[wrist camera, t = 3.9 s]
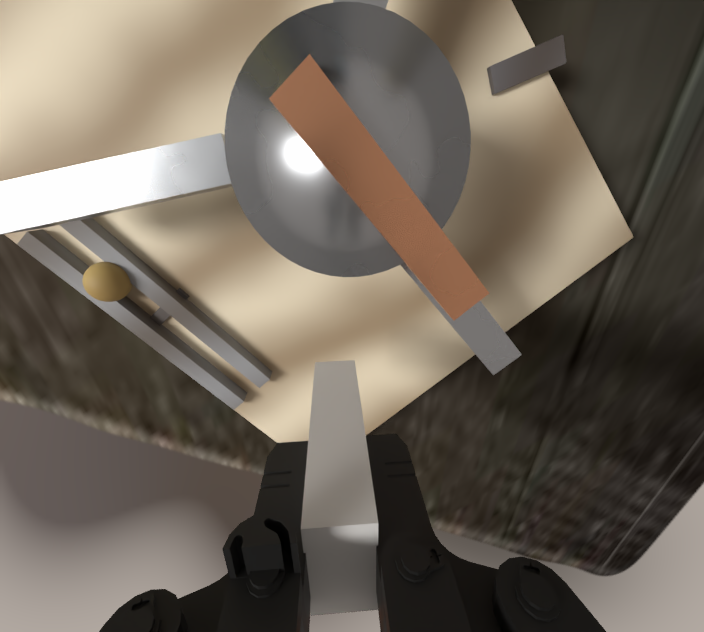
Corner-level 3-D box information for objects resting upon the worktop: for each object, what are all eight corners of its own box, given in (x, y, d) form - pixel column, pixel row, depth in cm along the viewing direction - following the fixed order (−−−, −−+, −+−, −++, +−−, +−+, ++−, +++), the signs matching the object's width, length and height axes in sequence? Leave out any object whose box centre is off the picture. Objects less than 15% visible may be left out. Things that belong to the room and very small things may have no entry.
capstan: (59, 200, 14) (-198, 214, 7) (423, -250, 10) (620, -1151, 3) (330, 428, 20) (331, 560, 13) (637, 193, 16) (880, 199, 9)
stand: (-91, 124, 15) (-225, 104, 11) (270, -439, 10) (239, -777, 6) (317, 449, 23) (314, 497, 19) (617, 221, 18) (686, 229, 15)
